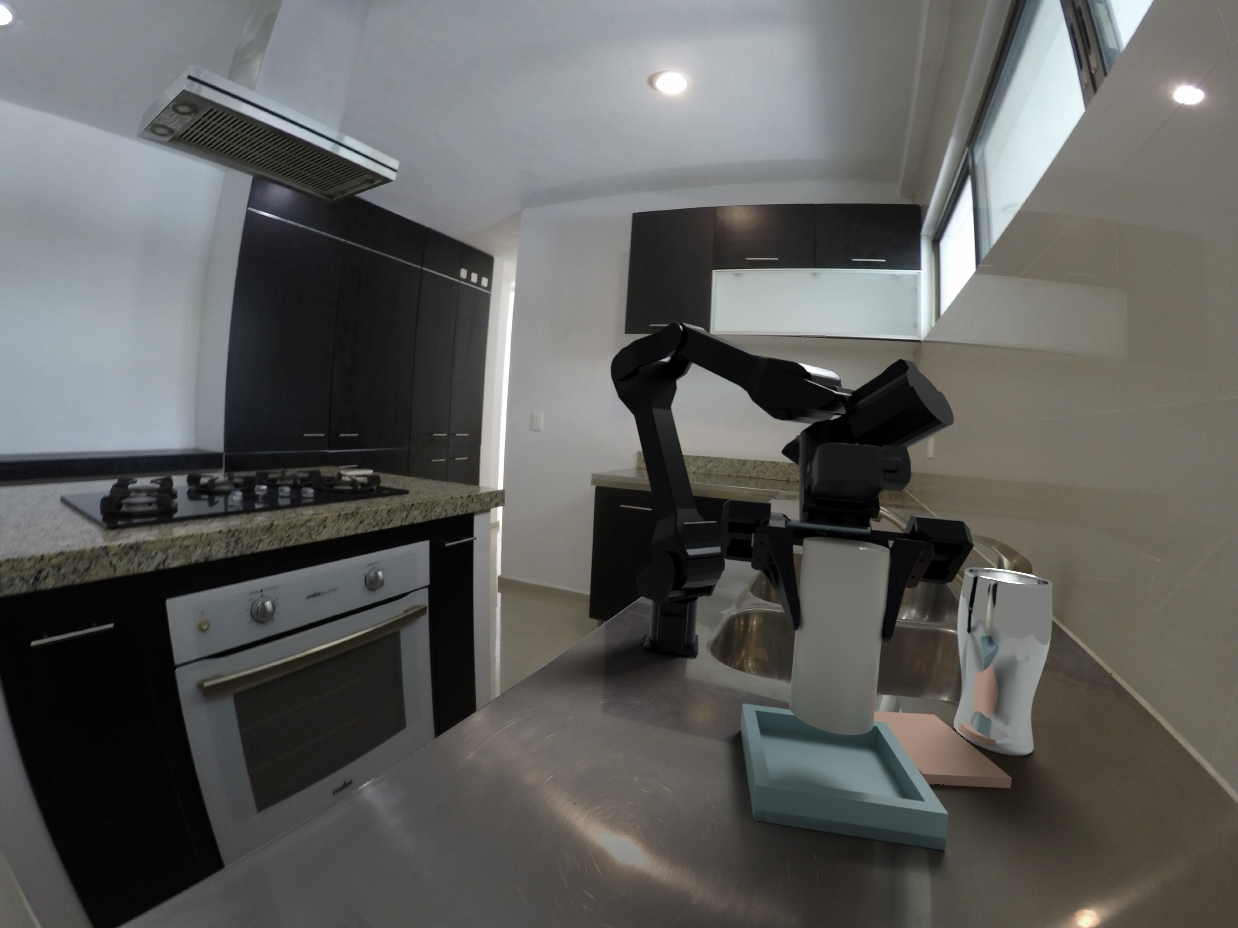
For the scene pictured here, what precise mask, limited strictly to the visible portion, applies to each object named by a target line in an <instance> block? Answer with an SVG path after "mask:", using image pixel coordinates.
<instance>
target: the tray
mask: <svg viewBox="0 0 1238 928" xmlns="http://www.w3.org/2000/svg"><path fill="white" fill-rule="evenodd" d="M741 704H742V705H741V718H740V727H739V728H740V729H739V730H740V738H741V744H742V751H743V758H744V763H745V769H746V778H747V784H748V785H747V786H748V790H749V791H748V792H749V798H750V805H751V812H752V819H753V821H756V822H761V823H762V822H764V823H770V824H775V825H781V826H789V827H794V828H800V829H805V830H807V829H808V830H813V831H819V832H826V833H831V834H837V835H838V834H839V835H844V836H851V837H857V838H862V839H863V838H864V839H870V840H877V841H883V842H888V843H895V844H901V845H908V846H914V847H920V848H926V849H933V850H939V851H945V852H946V847H947V846H946V844H947V834H948V825H949V812H948V811H947V810H946V809H945V808H946V807H944V806H943V804H942V803H941V801H940V799H939V798H938V797H937V795H936V794H935V792H934V791H933V790H932V787H930V784H928V783H927V782H926V780H925V779H924V777H923V776H922V775H921V773H920V772H919V770H918V769H917V767H916V766H915V764H914V763H913V761H912V760H911V758H910V757H909V755H908V754H907V753H906V751H905V750H904V748H903V747H902V745H901V744H900V742H899V741H898V739H897V738H896V736H895V735H894V734H893V732H892V731H891V729H890V728H889V726H888V725H887V723H886V722H881V721H874V724H873V728H872V729H871V730H870V731H869V732H867V733H864V734H859V735H843V734H836V733H831V732H827V731H824V730H821V729H818V728H815V727H813V726H811V725H808V724H806V723H805V722H803V721H801V720H800V719H798V718H797V717H796V716H795V715H794V714H793V713H792V712H791V710H790V708H789V709H788V708H782V707H781V708H780V707H773V706H772V707H771V706H765V705H759V704H758V705H756V704H751V703H741Z"/></svg>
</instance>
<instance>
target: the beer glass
mask: <svg viewBox="0 0 1238 928" xmlns="http://www.w3.org/2000/svg"><path fill="white" fill-rule="evenodd" d="M1053 586H1054V584H1053V582H1052V581H1050V580H1049V579H1046V578H1044V577H1040V576H1036V575H1034V574H1033V575H1032V574H1028V573H1024V572H1019V571H1013V570H1006V569H999V568H991V567H979V566H978V567H976V566H975V567H966V568H965V569H964V576H963V581H962V587H961V592H960V597H959V603H958V610H957V626H956V627H957V642H958V643H957V644H958V645H957V646H958V652H959V654H958V656H959V663H960V673H961V694H960V700H959V705H958V707H957V711H956V714H955V716H954V720H953V724H954V725H953V729H954V728H955V729H956V731H957V732H958V733H959V734H960V735H961V736H963V737H964V738H965V740H966V741H967V740H968V741H967V742H969V741H970V742H969V743H970V744H972V745H975V746H977V747H979V748H982V749H983V750H986V751H990V752H994V753H998V754H1001V755H1007V756H1014V757H1015V756H1016V757H1017V756H1018V757H1020V756H1021V757H1022V756H1027V755H1030V754H1031V753H1032V752H1033V751H1034V737H1033V729H1032V718H1031V716H1032V707H1033V701H1034V697H1035V694H1036V690H1037V688H1038V685H1039V681H1040V678H1041V677H1042V672H1043V669H1044V667H1045V664H1046V660H1047V657H1048V652H1049V650H1050V646H1051V645H1050V644H1051V636H1052V630H1053V629H1052V627H1053ZM955 729H954V730H955ZM956 731H955V732H956ZM957 732H956V733H957ZM958 733H957V734H958ZM963 737H962V738H963ZM964 738H963V739H964Z"/></svg>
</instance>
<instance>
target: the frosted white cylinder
mask: <svg viewBox="0 0 1238 928" xmlns="http://www.w3.org/2000/svg"><path fill="white" fill-rule="evenodd" d="M801 554H802V555H801V565H800V566H801V568H800V575H799V577H800V579H799V585H798V588H799V590H798V598H799V627H798V630H797V631H796V630H795V635H794V645H793V647H794V648H793V659H792V670H791V678H790V679H791V681H790V690H789V691H790V694H789V702H788V703H789V704H788V708H789V710H791V712H792V713H793V714H794V715H795V716H796V717H797V718H798V719H800V720H801V721H803V722H805V723H806V724H808V725H811V726H813V727H815V728H818V729H821V730H824V731H827V732H831V733H836V734H843V735H859V734H864V733H867V732H869V731H870V730H871V729H872V728H873V724H874V714H875V711H876V702H877V690H878V681H879V679H878V678H879V672H880V671H879V670H880V659H881V658H880V657H881V647H882V640H883V639H882V629H883V618H884V607H885V597H886V586H887V575H888V565H889V554H890V550H889V549H888V548H886V547H883V546H880V545H877V544H872V543H868V542H863V541H857V540H850V539H843V538H832V537H808V538H804V540H803V547H802V553H801Z"/></svg>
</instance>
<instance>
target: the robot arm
mask: <svg viewBox="0 0 1238 928" xmlns="http://www.w3.org/2000/svg"><path fill="white" fill-rule="evenodd" d="M693 364H694V365H696V366H698V367H700V368H702V369H704V370H706V371H708V372H710V373H712V374H714V375H716V376H718V377H720V378H723V379H725V380H727V381H728V382H730V383H732V384H734V385H736V386H737V387H738V386H739V387H740V388H741V389H742V390H743V391H745V392H746V393H747V395H748V397H749V398H750V400H751V401H752V403H754V404H755V405H757V406H758V407H759V408H760V409H761V410H763V411H764V412H765V413H766V414H767V415H768V416H770V417H771V418H772V419H774V420H778V421H784V422H792V423H799V424H807V425H808V426H807V427H806V428H804V429H803V430H802V431H800V433H799V434H797V435H796V436H795V438H794V439H792V440H791V441H789V442H787V443H786V444H785V445H784V446H783V448H782V449H781V451H780V452H781V455H783V456H785V458H787V459H788V460H790V461H791V462H792V463H793V464H795V465H796V466H797V467H798V499H799V500H798V502H799V504H798V507H799V509H798V512H799V513H798V514H799V517H798V519H792V518H789V517H788V515H786V514H785V513H781V512H773V511H772V503H771V502H772V501H762V500H753V499H752V500H750V499H741V498H739V499H738V498H730V499H728V500H727V501H726V502H724V503H723V505H722V511H721V512H722V513H721V521H720V522H721V523H720V526H719V524H718V521H713V520H711V521H706V520H705V519H704V518H703V516H702V515H700V513H699V511H698V510H697V506H696V502H695V498H694V494H693V490H692V487H691V482H690V478H689V474H688V470H687V466H686V463H685V458H684V454H683V450H682V447H681V443H680V438H679V435H678V431H677V427H676V423H675V419H674V414H673V410H672V405H673V402H674V400H675V396H676V393H677V390H678V385H677V384H678V383H677V381H678V380H680V379H681V378H683V377H684V376H686V375H687V374H688V372H689V370H690V368H691V367H692V365H693ZM610 377H611V378H610V379H611V380H612V384H613V386H614V389H615V391H616V395H617V397H618V399H619V400H620V401H621V402H622V404H624V406H625V407H626V408H627V409H628V411H629V412H630V413H631V414H632V415H633V417H634V422H635V425H636V429H637V430H636V431H637V434H638V438H639V442H640V443H639V444H640V447H641V448H640V449H641V452H642V456H643V460H644V464H645V465H644V466H645V469H646V474H647V478H648V482H649V486H650V490H651V496H652V499H653V504H654V509H655V514H656V519H657V523H656V526H655V529H654V533H653V535H652V539H651V541H650V549H651V558H652V560H651V561H650V562H649V563H648V564H647V565H646V566H645V567H644V568H643V569H642V570H641V571H640V572H639V573H638V574H637V576H636V577H635V585H636V593H637V595H638V596H641V597H643V598H645V599H647V600H649V601H651V605H650V619H649V629H647V632H646V636H645V639H644V643H643V647H642V648H643V650H644V651H651V652H659V653H665V654H667V653H668V654H677V655H684V656H691V657H692V656H693V657H696V656H699V635H698V634H696V633H697V632H696V631H697V622H698V621H697V619H698V609H699V608H698V605H699V598H703V597H711V596H713V593H714V591H715V589H716V587H717V586H716V585H717V583H718V582H719V581H720V579H721V577H722V575H723V572H724V571H725V570H726V561H725V560H727V561H736V562H746V563H750V567H751V568H752V569H753V570H755V571H761V572H762V573H763V574H764V576H765V578H766V580H767V581H768V583H769V584H770V586H771V587H772V589H773V591H774V593H775V594H776V597H777V598H778V600H779V604H780V606H781V608H782V610H783V612H784V614H785V617H786V620H787V622H788V624H789V626H790V628H791V630H792V631H795V632H796V631H797V630H798V627H799V590H798V581H797V574H796V566H795V557H794V546H799V547H802V548H803V540H804V538H808V537H832V538H843V539H850V540H857V541H863V542H868V543H872V544H877V545H880V546H883V547H886V548H888V549H889V550H890V554H889V565H888V575H887V586H886V597H885V607H884V618H883V629H882V639H881V640H882V642H883V643H884V644H890V642H891V641H892V639H893V637H894V632H895V629H896V624H897V620H898V617H899V613H900V609H901V605H902V602H903V597H904V595H905V590H906V589H914V588H917V587H918V586H919V585H920V583H927V584H935V585H946V584H950V583H952V582H953V581H954V580H955V579H956V576H957V575H958V573H959V572H960V570H961V568H962V567H963V565H964V564H965V562H966V560H967V558H968V556H969V555H970V554H971V552H972V550H973V548H974V546H975V544H974V540H973V535H972V532H971V529H970V528H969V526H968V525H967V524H966V523H965V521H964V520H961V519H958V518H949V517H947V518H946V517H937V516H927V515H915V514H911V515H910V517H909V519H908V522H907V524H906V526H905V529H904V531H903V532H898V531H897V532H896V531H890V530H889V531H887V530H878V529H873V528H872V527H873V526H872V519H876V520H877V519H878V517H879V514H880V511H881V504H880V497H879V496H880V494H881V493H882V492H885V491H890V492H891V491H892V492H902V491H903V490H905V488H906V487H907V486H908V485H909V483H911V478H912V461H911V456H910V453H909V450H908V449H909V448H910V447H912V446H915V445H916V444H918V443H920V442H922V441H924V440H926V439H928V438H929V437H931V436H934V435H935V434H937V433H939V432H941V431H943V430H945V429H946V428H949V427H950V426H952V425H953V424H954V423H955V415H954V413H953V410H952V408H951V406H950V404H949V402H948V400H947V398H946V396H945V394H944V393H943V392H942V391H939V390H938V389H937V387H936V386H935V385H934V384H933V383H932V382H931V381H930V379H928V378H927V376H925V375H924V374H923V373H922V372H920V371H919V369H918V367H917V365H916V363H915V361H912V360H908V359H904V358H899V359H897V360H896V361H894V362H893V363H892V364H890V365H889V366H887V367H886V368H885V369H884V371H883V372H881V373H880V374H879V375H877V376H875V377H874V378H872V379H871V380H869V381H867V382H865V383H864V384H863V385H862V386H860V387H858V388H856V389H851V388H848V387H844V386H843V385H842V379H841V378H840V377H839V375H838V374H837V373H835V372H834V371H832V370H829V369H825V368H823V367H817V366H813V365H809V364H805V363H801V362H797V361H792V360H786V359H781V358H776V357H769V356H764V355H762V354H760V353H757V352H755V351H753V350H750V349H749V348H746V347H743V346H741V345H738V344H736V343H734V342H732V341H729V340H728V339H727V340H726V339H725V338H722V337H719V336H718V335H715V334H712V333H711V332H708V331H707V330H705V329H704V327H701V326H698V325H695V324H694V325H693V324H690V323H686V322H682V321H675V322H671V323H668V324H667V325H665V327H663V328H662V329H660V330H659V331H657V332H654V333H651V334H648V335H646V336H643V337H641V338H637V339H635V340H633V341H632V342H631V343H629V344H628V345H627V346H624V347H623V348H620V350H619V351H618V352H617V353H616V354H615V356H614V357H612V360H611V363H610ZM835 416H838V417H836V418H834V417H835Z"/></svg>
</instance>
